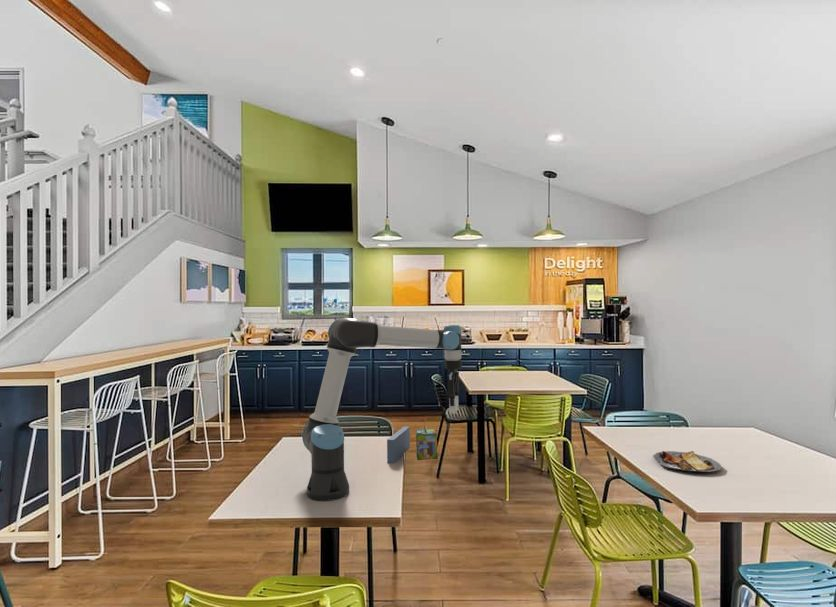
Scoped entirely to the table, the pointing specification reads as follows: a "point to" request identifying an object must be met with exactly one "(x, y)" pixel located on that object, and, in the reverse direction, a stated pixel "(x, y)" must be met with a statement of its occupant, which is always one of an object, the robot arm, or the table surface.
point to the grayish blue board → (398, 444)
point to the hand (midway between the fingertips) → (454, 411)
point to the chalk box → (426, 444)
